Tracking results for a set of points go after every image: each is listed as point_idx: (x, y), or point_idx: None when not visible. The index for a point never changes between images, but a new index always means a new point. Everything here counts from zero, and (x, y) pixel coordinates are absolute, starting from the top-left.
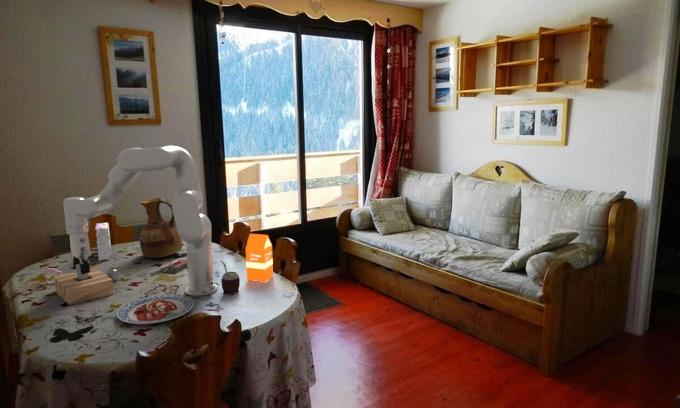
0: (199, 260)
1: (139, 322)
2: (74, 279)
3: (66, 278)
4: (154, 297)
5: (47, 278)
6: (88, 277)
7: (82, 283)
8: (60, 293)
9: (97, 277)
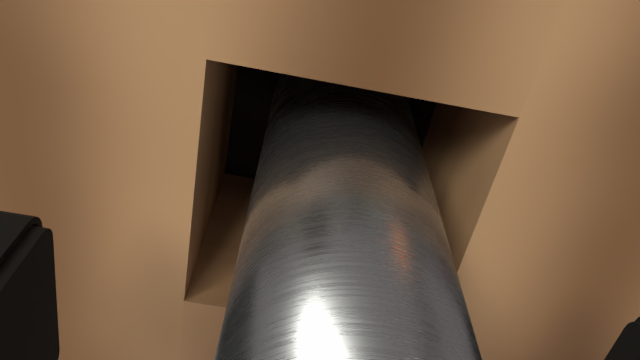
0: None
1: None
2: (193, 261)
3: (124, 345)
4: None
5: None
6: (412, 163)
7: (588, 327)
8: None
9: (553, 41)
